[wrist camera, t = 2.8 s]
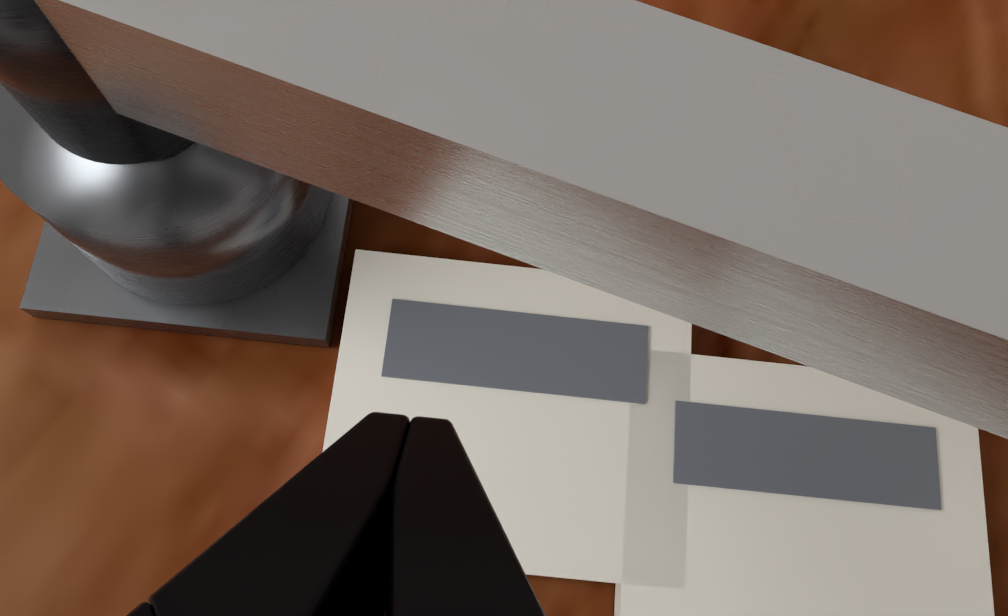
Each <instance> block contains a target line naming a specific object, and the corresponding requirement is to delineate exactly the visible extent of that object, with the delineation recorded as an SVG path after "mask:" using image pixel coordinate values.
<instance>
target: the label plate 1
mask: <svg viewBox="0 0 1008 616" xmlns="http://www.w3.org/2000/svg"><path fill="white" fill-rule="evenodd" d="M691 335H692V323H689V322H686V321H683V320H681V319H678V318H675V317H672V316H670V315H667V314H664V313H662V312H659V311H656V310H653V309H651V308H648V307H645V306H642V305H640V304H637V303H634V302H631V301H629V300H626V299H623V298H621V297H618V296H615V295H612V294H610V293H607V292H604V291H601V290H599V289H596V288H593V287H590V286H588V285H585V284H582V283H579V282H577V281H574V280H571V279H569V278H566V277H563V276H560V275H558V274H555V273H552V272H549V271H547V270H544V269H535V268H526V267H517V266H507V265H498V264H489V263H479V262H470V261H461V260H451V259H442V258H433V257H423V256H414V255H405V254H395V253H386V252H377V251H367V250H358V249H356V250H355V256H354V262H353V268H352V274H351V280H350V286H349V293H348V299H347V305H346V311H345V317H344V323H343V329H342V336H341V342H340V348H339V354H338V360H337V366H336V372H335V379H334V385H333V391H332V397H331V403H330V409H329V415H328V422H327V428H326V434H325V440H324V446H323V451H325V450H326V449H327V448H328V447H329V446H331V445H332V444H333V443H334V442H335V441H337V440H338V439H339V438H340V437H341V436H343V435H344V434H345V433H346V432H347V431H349V430H350V429H351V428H352V427H353V426H355V425H356V424H357V423H358V422H359V421H361V420H362V419H363V418H364V417H365V416H367V415H368V414H370V413H372V412H382V413H392V414H401V415H406V416H407V417H408V418H409V420H410V421H411V420H412V418H414V417H416V416H421V417H431V418H441V419H448V420H449V421H450V422H451V423H452V424H453V426H454V428H455V430H456V432H457V434H458V436H459V439H460V441H461V443H462V445H463V447H464V449H465V451H466V453H467V455H468V457H469V459H470V461H471V463H472V465H473V467H474V469H475V471H476V473H477V476H478V478H479V480H480V482H481V484H482V486H483V488H484V490H485V492H486V494H487V496H488V498H489V500H490V502H491V504H492V506H493V508H494V511H495V513H496V515H497V517H498V519H499V521H500V523H501V525H502V527H503V529H504V531H505V533H506V535H507V537H508V539H509V541H510V543H511V546H512V548H513V550H514V552H515V554H516V556H517V558H518V560H519V562H520V564H521V566H522V568H523V570H524V572H525V574H526V575H536V576H546V577H556V578H566V579H576V580H586V581H596V582H607V583H619V584H631V585H641V586H651V587H661V588H671V589H681V590H686V552H687V509H688V484H678V483H673V465H674V430H675V401H686V402H690V389H689V388H690V387H689V385H690V382H689V381H690V376H691ZM652 350H653V352H652ZM648 352H649V353H648ZM669 352H670V353H669ZM672 352H673V354H672ZM676 352H677V353H676ZM652 353H653V355H652ZM662 353H663V354H662ZM648 354H649V355H648ZM658 354H659V355H658ZM679 354H680V355H679ZM686 354H687V355H686ZM689 354H690V355H689ZM665 355H666V357H665ZM672 355H673V356H672ZM648 356H649V358H648ZM655 356H656V357H655ZM679 356H680V358H679ZM689 356H690V357H689ZM651 357H652V358H651ZM672 357H673V358H672ZM682 357H683V358H682ZM647 358H648V359H647ZM650 358H651V359H650ZM668 358H669V360H668ZM676 358H677V359H676ZM689 358H690V359H689ZM661 359H662V360H661ZM664 359H665V360H664ZM651 360H652V361H651ZM654 360H655V361H654ZM675 360H676V361H675ZM685 360H686V361H685ZM661 361H662V363H661ZM668 361H669V363H668ZM671 361H672V362H671ZM678 361H679V362H678ZM651 362H652V363H651ZM675 362H676V363H675ZM654 363H655V365H654ZM657 363H658V364H657ZM670 363H672V364H670ZM678 363H679V364H678ZM681 363H682V364H681ZM657 365H658V366H657ZM664 365H665V366H664ZM678 365H679V366H678ZM673 366H674V367H673ZM681 366H682V367H681ZM689 366H690V367H689ZM662 367H663V368H662ZM667 367H668V368H667ZM670 367H671V369H670ZM657 368H658V369H657ZM660 368H661V369H660ZM667 369H668V371H667ZM676 369H677V370H676ZM684 369H685V370H684ZM660 370H661V371H660ZM663 371H664V372H663ZM673 371H675V372H673ZM684 371H685V372H684ZM666 372H667V374H666ZM670 372H671V374H670ZM677 372H678V373H677ZM680 372H681V373H682V374H681V373H680ZM687 372H688V373H687ZM663 373H664V374H663ZM668 373H669V374H668ZM649 374H650V375H649ZM651 374H652V375H651ZM662 374H663V375H664V377H663V375H662ZM673 374H674V376H673ZM687 374H688V375H687ZM680 375H681V376H680ZM683 375H684V376H683ZM685 375H686V376H685ZM666 376H667V377H666ZM687 376H688V377H687ZM669 377H671V378H669ZM666 378H667V380H666ZM673 378H674V379H673ZM676 378H677V379H676ZM683 380H684V381H683ZM686 380H687V381H686ZM669 381H670V382H669ZM669 383H670V384H669ZM679 383H680V385H679ZM686 383H687V384H686ZM671 384H673V385H671ZM682 384H683V385H682ZM670 385H671V386H670ZM682 386H683V387H682ZM675 387H676V388H675ZM685 387H686V388H685ZM682 388H683V389H682ZM685 389H686V390H685ZM678 390H679V391H678ZM688 390H689V391H688ZM677 391H678V392H679V393H678V392H677ZM685 391H686V393H685ZM654 392H655V393H654ZM664 393H665V394H664ZM681 393H682V394H681ZM685 394H686V395H685ZM688 394H689V396H688ZM681 395H682V396H681ZM673 397H674V398H673ZM688 397H689V398H688ZM687 400H688V401H687ZM665 402H666V403H665ZM673 419H674V420H673ZM631 537H633V538H631ZM627 541H628V542H627ZM641 544H642V545H641ZM627 549H628V550H627ZM643 551H644V552H643ZM626 557H627V558H626ZM649 559H650V560H649ZM639 560H640V561H639ZM628 561H629V562H628ZM622 563H623V564H622ZM625 563H626V564H625ZM635 563H636V564H635ZM656 563H657V564H656ZM631 564H632V566H631ZM628 566H629V567H628ZM638 567H639V569H638ZM634 568H635V569H636V570H635V569H634ZM641 571H642V572H641ZM634 574H635V575H634ZM648 574H649V575H648ZM665 575H666V576H665ZM623 576H624V577H623ZM640 576H641V577H640ZM634 577H635V578H634ZM636 577H637V578H636ZM627 578H628V579H627ZM630 578H631V579H630ZM640 578H641V579H640ZM633 579H634V580H633ZM644 579H645V581H644ZM626 580H628V581H626ZM633 583H634V584H633ZM663 583H664V584H663Z"/></svg>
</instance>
